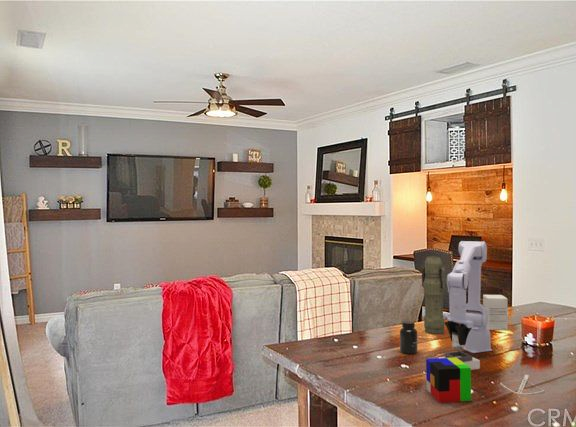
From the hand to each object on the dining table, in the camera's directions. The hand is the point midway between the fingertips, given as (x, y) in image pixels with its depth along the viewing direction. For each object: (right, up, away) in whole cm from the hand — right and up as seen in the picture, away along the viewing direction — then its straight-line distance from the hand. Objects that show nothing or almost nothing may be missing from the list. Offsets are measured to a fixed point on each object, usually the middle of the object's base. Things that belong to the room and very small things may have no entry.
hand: (458, 343), depth 173 cm
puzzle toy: (-12, -10, -25) cm, 29 cm away
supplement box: (+37, -7, +54) cm, 65 cm away
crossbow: (+14, -10, -18) cm, 25 cm away
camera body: (0, -9, 0) cm, 9 cm away
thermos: (+6, -8, +48) cm, 49 cm away
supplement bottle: (-13, -9, +19) cm, 25 cm away
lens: (0, -2, 0) cm, 2 cm away
